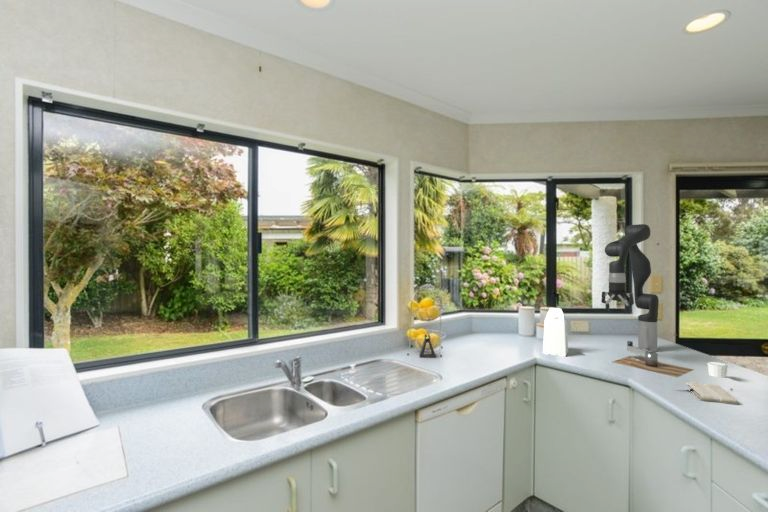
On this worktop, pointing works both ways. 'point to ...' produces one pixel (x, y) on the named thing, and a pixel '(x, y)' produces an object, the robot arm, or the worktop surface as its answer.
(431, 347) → the phone stand
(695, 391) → the washcloth
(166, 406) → the worktop surface
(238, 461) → the worktop surface
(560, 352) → the milk
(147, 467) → the worktop surface
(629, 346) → the lever
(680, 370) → the dial plate
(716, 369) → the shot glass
